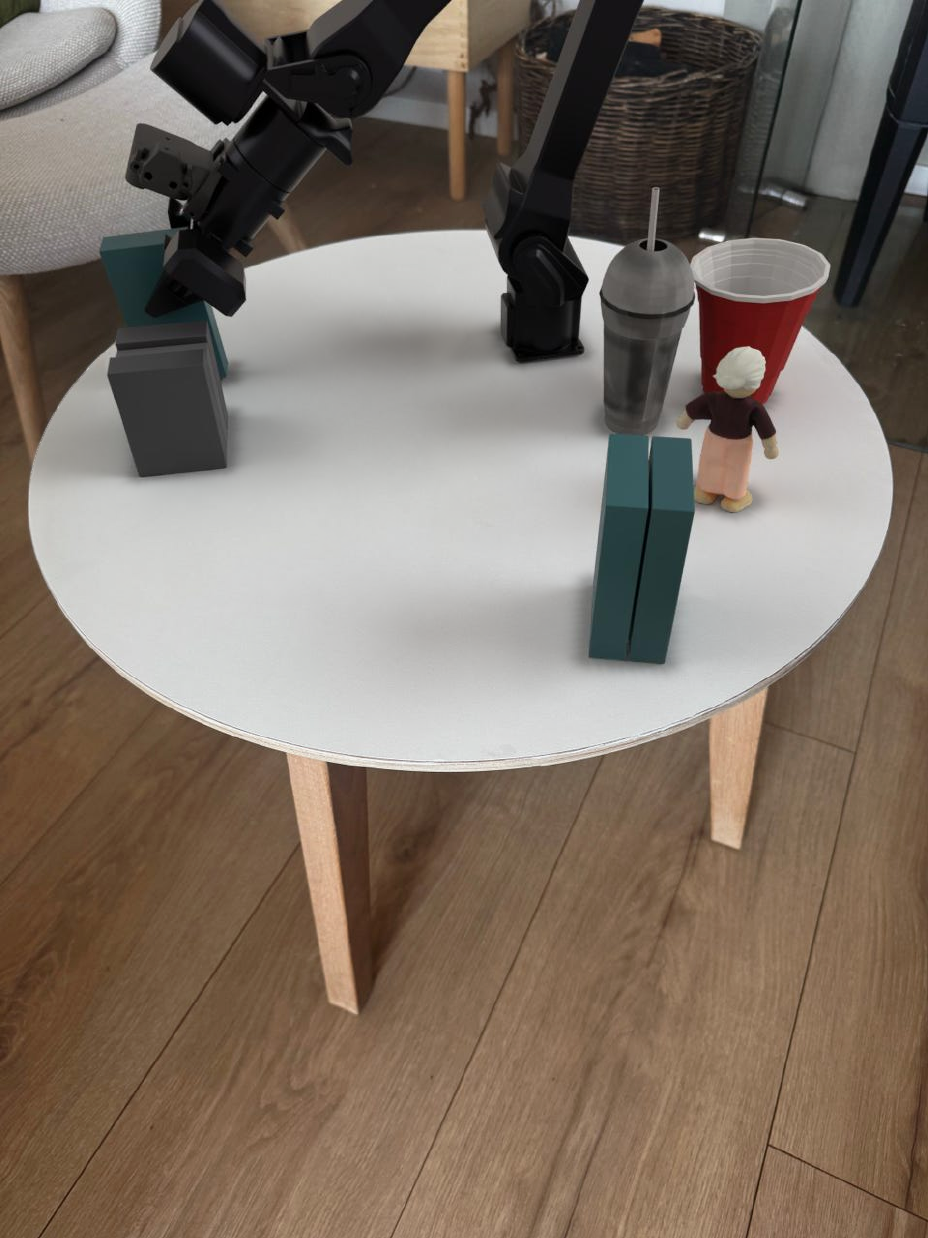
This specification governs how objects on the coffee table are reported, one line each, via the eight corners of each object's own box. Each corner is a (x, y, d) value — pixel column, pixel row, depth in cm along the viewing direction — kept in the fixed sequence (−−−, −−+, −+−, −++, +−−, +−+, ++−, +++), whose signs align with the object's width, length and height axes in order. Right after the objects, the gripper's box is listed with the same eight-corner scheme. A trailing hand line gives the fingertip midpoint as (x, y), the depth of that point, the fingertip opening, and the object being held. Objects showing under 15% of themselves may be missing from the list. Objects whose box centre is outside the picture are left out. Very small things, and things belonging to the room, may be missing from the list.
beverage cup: (685, 407, 85) (725, 170, 71) (660, 454, 81) (697, 211, 66) (604, 389, 87) (627, 155, 73) (575, 433, 83) (594, 193, 68)
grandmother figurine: (768, 490, 77) (805, 344, 68) (761, 520, 75) (799, 373, 66) (670, 471, 79) (693, 327, 70) (660, 500, 77) (684, 355, 67)
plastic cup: (696, 347, 92) (718, 220, 83) (812, 378, 88) (847, 248, 79) (650, 405, 85) (669, 274, 77) (773, 442, 82) (807, 308, 73)
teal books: (592, 584, 70) (609, 432, 61) (664, 590, 70) (691, 437, 60) (588, 657, 65) (605, 505, 56) (664, 664, 65) (695, 511, 56)
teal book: (228, 362, 90) (188, 226, 81) (226, 377, 89) (185, 240, 79) (152, 372, 90) (102, 236, 81) (149, 387, 89) (98, 251, 79)
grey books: (228, 414, 86) (205, 313, 79) (227, 467, 80) (203, 364, 73) (145, 422, 85) (115, 322, 78) (139, 477, 80) (106, 374, 73)
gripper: (179, 49, 79) (75, 195, 86) (168, 136, 67) (46, 300, 73) (290, 146, 86) (185, 275, 93) (299, 242, 73) (176, 384, 80)
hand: (150, 304), depth 84 cm, fingers closed on teal book, 3 cm apart
